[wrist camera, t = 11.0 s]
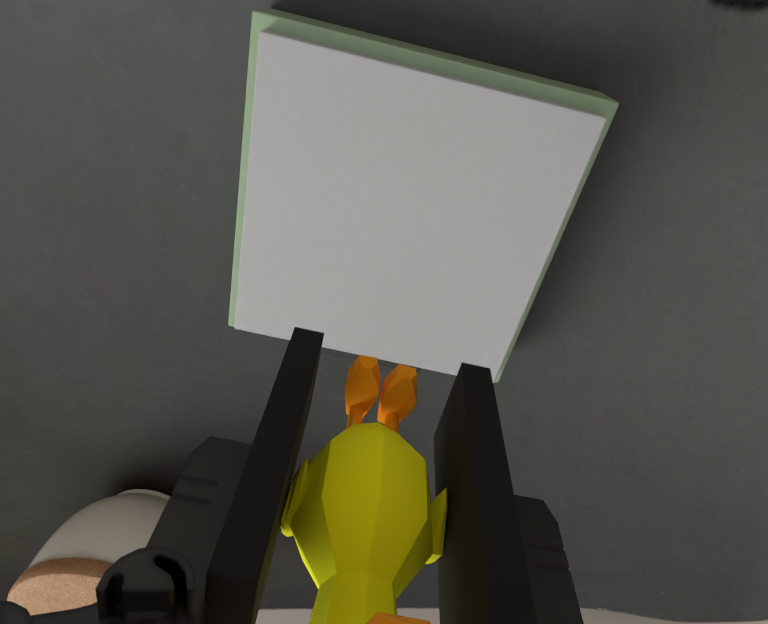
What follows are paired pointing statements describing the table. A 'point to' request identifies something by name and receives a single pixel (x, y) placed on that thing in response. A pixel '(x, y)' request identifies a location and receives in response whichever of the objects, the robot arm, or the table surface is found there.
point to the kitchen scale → (400, 193)
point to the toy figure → (366, 506)
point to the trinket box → (87, 551)
